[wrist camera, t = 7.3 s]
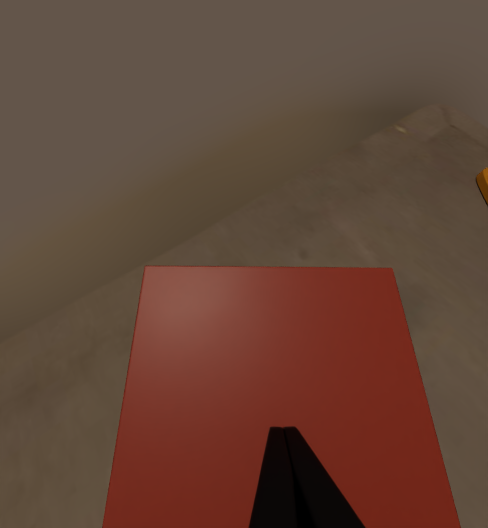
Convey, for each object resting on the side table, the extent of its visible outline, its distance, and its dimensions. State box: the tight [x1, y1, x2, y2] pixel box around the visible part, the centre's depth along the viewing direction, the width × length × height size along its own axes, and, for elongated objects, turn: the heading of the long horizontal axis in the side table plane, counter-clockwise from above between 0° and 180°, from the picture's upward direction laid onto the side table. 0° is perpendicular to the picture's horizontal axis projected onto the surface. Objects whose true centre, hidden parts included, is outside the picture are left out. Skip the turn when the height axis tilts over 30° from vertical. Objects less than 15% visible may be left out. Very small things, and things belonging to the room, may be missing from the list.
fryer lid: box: [102, 266, 461, 528], centre depth 9 cm, size 10×10×1 cm
